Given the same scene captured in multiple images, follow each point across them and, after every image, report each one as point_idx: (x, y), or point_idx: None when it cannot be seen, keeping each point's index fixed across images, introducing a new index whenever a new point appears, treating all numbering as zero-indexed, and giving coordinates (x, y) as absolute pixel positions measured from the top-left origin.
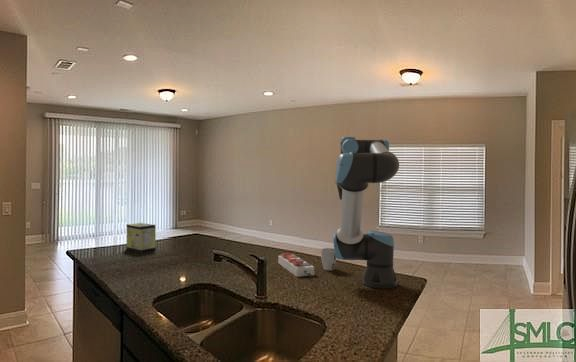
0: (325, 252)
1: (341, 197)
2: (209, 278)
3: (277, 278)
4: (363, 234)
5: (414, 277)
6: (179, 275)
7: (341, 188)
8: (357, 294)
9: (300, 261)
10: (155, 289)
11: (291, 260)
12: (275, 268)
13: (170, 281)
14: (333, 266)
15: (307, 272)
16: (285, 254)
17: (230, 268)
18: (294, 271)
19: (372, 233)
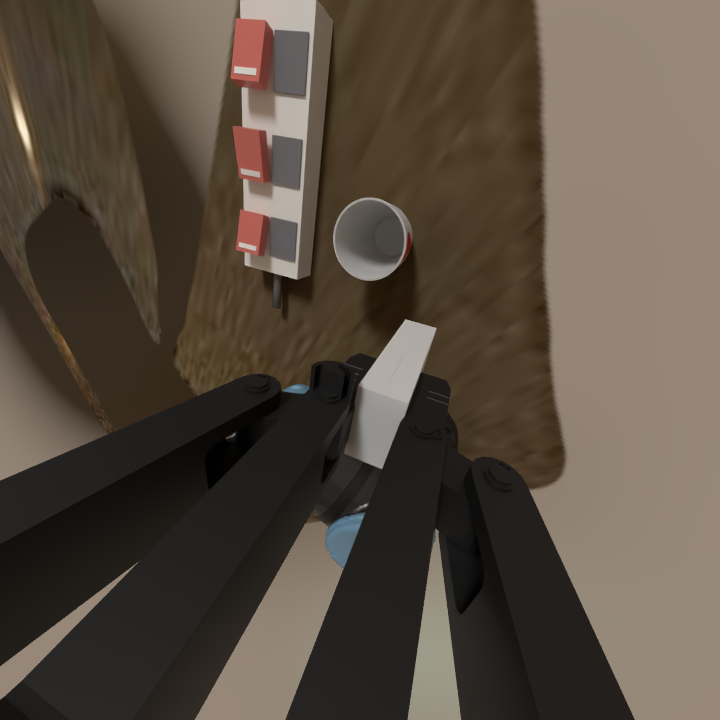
0: (340, 258)
1: (220, 452)
2: (72, 155)
3: (214, 248)
4: (321, 513)
5: (558, 463)
6: (4, 80)
7: (2, 647)
8: None
9: (250, 253)
10: (6, 193)
11: (247, 178)
12: (232, 124)
13: (7, 139)
14: (392, 262)
15: (273, 291)
16: (239, 82)
17: (104, 45)
18: None
19: (330, 550)
